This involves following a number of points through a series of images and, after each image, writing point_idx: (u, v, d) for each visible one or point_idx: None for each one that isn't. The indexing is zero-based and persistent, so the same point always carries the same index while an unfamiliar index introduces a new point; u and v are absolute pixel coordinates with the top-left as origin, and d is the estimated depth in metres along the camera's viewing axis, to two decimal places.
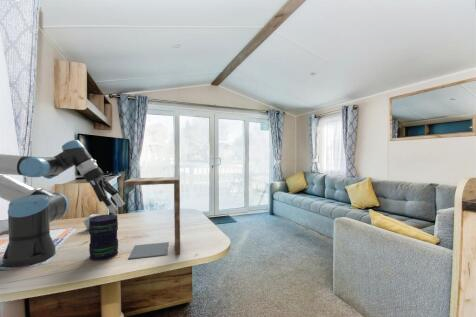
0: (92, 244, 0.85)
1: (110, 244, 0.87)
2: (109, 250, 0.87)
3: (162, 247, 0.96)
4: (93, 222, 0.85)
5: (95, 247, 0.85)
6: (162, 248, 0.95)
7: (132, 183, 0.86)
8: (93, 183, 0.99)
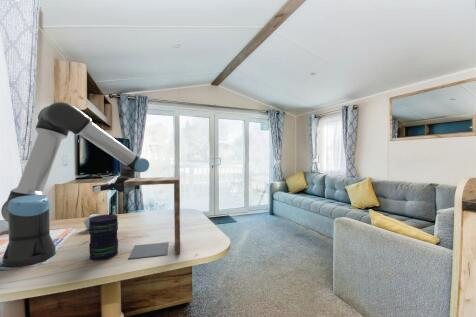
0: (92, 244, 0.85)
1: (110, 244, 0.87)
2: (109, 250, 0.87)
3: (162, 247, 0.96)
4: (93, 222, 0.85)
5: (95, 247, 0.85)
6: (162, 248, 0.95)
7: (132, 183, 0.86)
8: None
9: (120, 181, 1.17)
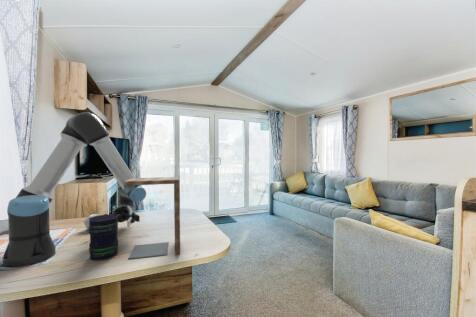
0: (92, 244, 0.85)
1: (110, 244, 0.87)
2: (109, 250, 0.87)
3: (162, 247, 0.96)
4: (93, 222, 0.85)
5: (95, 247, 0.85)
6: (162, 248, 0.95)
7: (132, 183, 0.86)
8: None
9: (119, 211, 1.13)
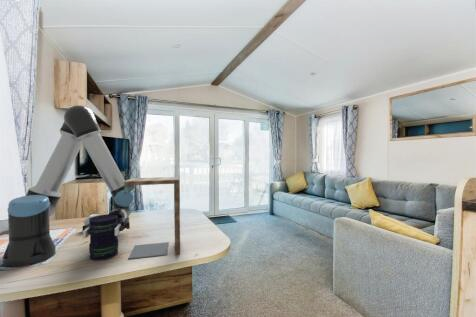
0: (92, 244, 0.86)
1: (110, 244, 0.87)
2: (109, 250, 0.87)
3: (162, 247, 0.96)
4: (93, 222, 0.85)
5: (95, 247, 0.85)
6: (162, 248, 0.95)
7: (132, 183, 0.86)
8: (128, 220, 1.02)
9: None
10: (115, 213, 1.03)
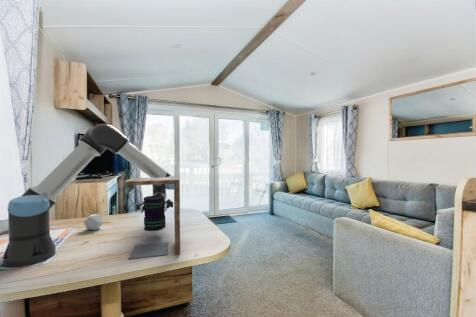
0: (147, 218, 1.06)
1: (160, 218, 1.08)
2: (160, 223, 1.07)
3: (162, 247, 0.96)
4: (148, 200, 1.06)
5: (149, 220, 1.06)
6: (162, 248, 0.95)
7: (132, 183, 0.86)
8: None
9: None
10: None
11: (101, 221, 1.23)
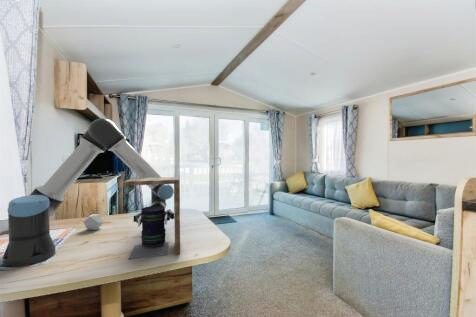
0: (145, 232, 0.95)
1: (160, 232, 0.96)
2: (160, 237, 0.96)
3: (162, 247, 0.96)
4: (146, 212, 0.94)
5: (148, 234, 0.94)
6: (162, 248, 0.95)
7: (132, 183, 0.86)
8: None
9: None
10: (157, 205, 1.13)
11: (101, 221, 1.23)
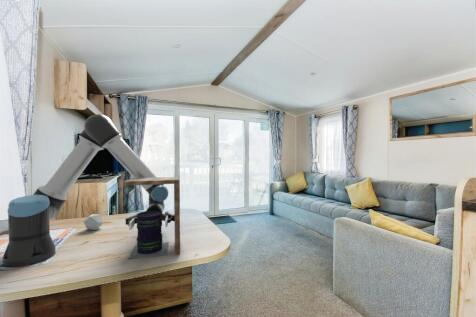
0: (140, 238, 0.90)
1: (157, 239, 0.91)
2: (156, 244, 0.91)
3: (162, 247, 0.96)
4: (142, 217, 0.89)
5: (143, 241, 0.89)
6: (162, 248, 0.95)
7: (132, 183, 0.86)
8: None
9: (152, 210, 1.07)
10: (154, 207, 1.08)
11: (101, 221, 1.23)
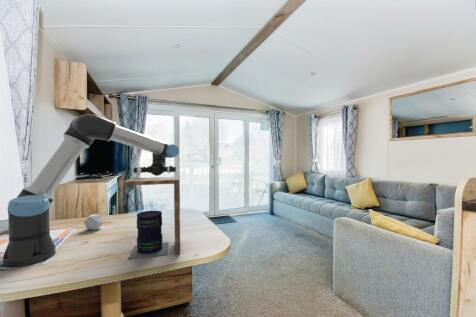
0: (140, 238, 0.90)
1: (157, 239, 0.91)
2: (156, 244, 0.91)
3: (162, 247, 0.96)
4: (142, 217, 0.89)
5: (143, 241, 0.89)
6: (162, 248, 0.95)
7: (132, 183, 0.86)
8: None
9: (155, 165, 1.26)
10: (158, 163, 1.26)
11: (101, 221, 1.23)
